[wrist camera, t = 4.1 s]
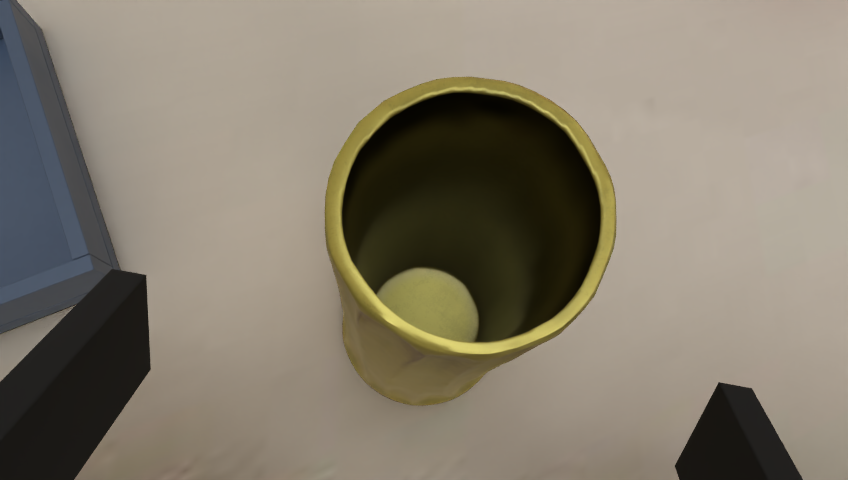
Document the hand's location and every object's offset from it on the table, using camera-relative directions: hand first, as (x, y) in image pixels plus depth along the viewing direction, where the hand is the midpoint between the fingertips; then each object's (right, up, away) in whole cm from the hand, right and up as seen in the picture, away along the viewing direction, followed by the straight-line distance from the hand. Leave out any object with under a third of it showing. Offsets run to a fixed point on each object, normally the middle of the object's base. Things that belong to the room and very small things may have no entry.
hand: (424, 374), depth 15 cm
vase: (0, 0, +10) cm, 10 cm away
